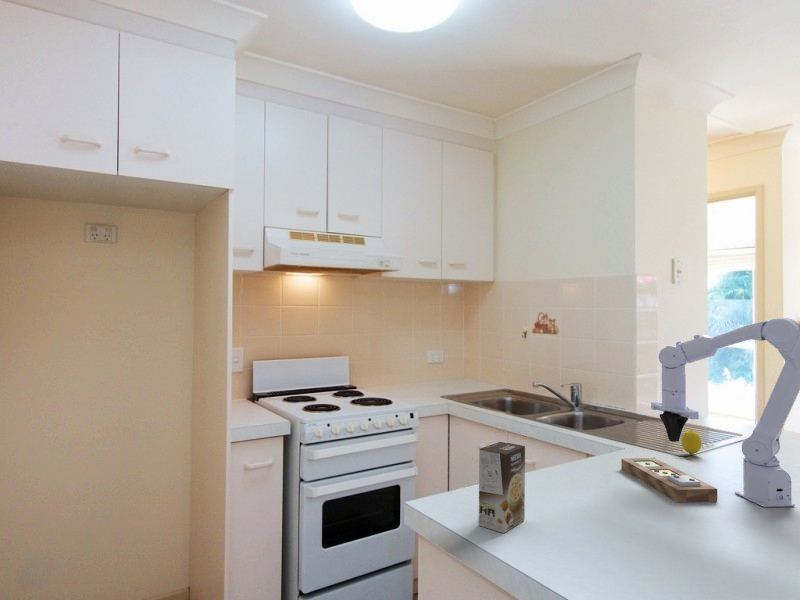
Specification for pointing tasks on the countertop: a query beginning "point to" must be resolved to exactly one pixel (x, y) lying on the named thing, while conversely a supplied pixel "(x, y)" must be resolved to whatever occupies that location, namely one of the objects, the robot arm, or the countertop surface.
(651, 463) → the button one
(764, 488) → the robot arm
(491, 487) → the coffee box
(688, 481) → the button two
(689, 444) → the lemon
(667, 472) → the button three
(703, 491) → the frame
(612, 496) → the countertop surface
